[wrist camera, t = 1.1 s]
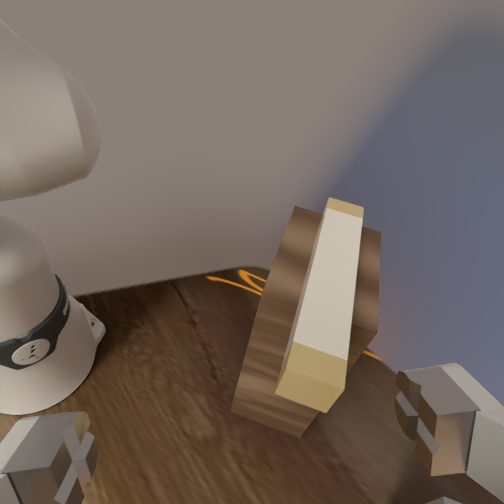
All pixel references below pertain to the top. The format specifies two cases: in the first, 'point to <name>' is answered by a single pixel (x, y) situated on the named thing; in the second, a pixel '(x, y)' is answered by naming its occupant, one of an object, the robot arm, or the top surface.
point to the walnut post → (282, 317)
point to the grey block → (443, 501)
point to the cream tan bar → (324, 312)
